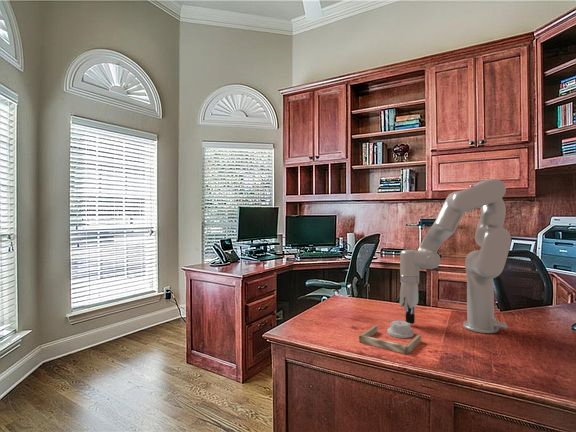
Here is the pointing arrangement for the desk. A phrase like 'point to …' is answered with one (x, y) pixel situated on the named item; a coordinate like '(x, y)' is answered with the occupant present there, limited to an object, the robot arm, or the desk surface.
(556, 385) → the desk surface
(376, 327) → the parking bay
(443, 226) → the robot arm
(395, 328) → the mechanical component
